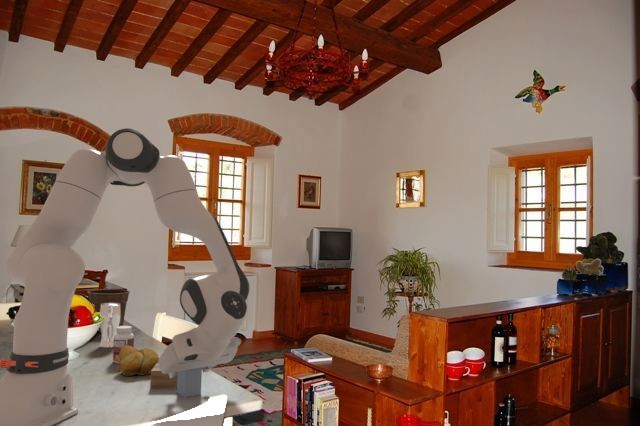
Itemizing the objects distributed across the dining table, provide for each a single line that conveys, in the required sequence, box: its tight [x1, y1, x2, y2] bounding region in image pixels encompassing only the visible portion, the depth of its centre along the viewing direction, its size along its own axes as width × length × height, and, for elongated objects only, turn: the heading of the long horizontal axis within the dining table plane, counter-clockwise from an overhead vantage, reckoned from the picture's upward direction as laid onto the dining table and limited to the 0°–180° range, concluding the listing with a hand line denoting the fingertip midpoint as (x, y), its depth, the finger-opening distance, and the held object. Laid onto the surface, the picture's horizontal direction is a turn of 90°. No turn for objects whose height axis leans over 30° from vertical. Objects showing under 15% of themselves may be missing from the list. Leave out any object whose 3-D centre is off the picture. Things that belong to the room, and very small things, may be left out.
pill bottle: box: [112, 325, 135, 365], centre depth 166 cm, size 6×6×11 cm
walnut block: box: [149, 363, 178, 390], centre depth 144 cm, size 8×8×5 cm
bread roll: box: [119, 345, 160, 377], centre depth 154 cm, size 13×10×8 cm
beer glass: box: [99, 303, 120, 349], centre depth 187 cm, size 7×7×15 cm
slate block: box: [176, 367, 203, 398], centre depth 136 cm, size 4×4×9 cm
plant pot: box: [87, 288, 131, 334], centre depth 214 cm, size 16×16×16 cm
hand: (188, 372), depth 137 cm, fingers open, 8 cm apart
